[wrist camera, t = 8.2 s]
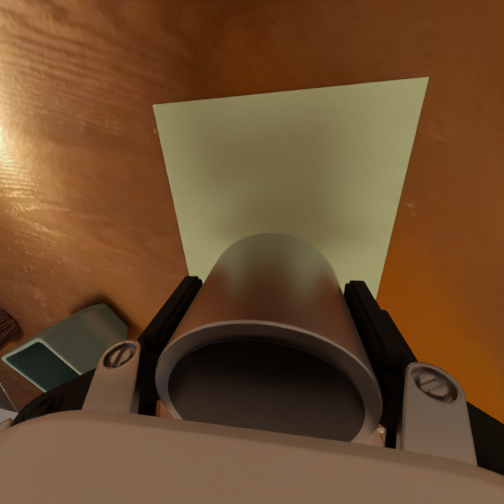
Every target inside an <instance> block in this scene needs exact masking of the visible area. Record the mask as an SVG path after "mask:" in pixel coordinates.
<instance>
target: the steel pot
mask: <svg viewBox="0 0 504 504" xmlns="http://www.w3.org/2000/svg"><path fill="white" fill-rule="evenodd" d="M155 385H156V389H157V392H158V395H159V397H160V399H161V401H162V403H163V404H164V406H165V407H166V409H167V410H168V411H169V413H170V414H171V415H172V416H173V417H174V418H175V419H179V420H187V421H195V422H203V423H210V424H218V425H225V426H233V427H241V428H248V429H256V430H263V431H271V432H278V433H286V434H293V435H300V436H307V437H315V438H322V439H329V440H336V441H343V442H351V443H358V444H362V443H364V442H365V441H366V440H367V439H368V438H369V437H370V436H371V435H372V434H373V433H374V431H375V430H376V429H377V427H378V425H379V423H380V421H381V417H382V413H383V397H382V393H381V389H380V386H379V384H378V381H377V379H376V376H375V374H374V371H373V369H372V366H371V363H370V361H369V358H368V356H367V353H366V351H365V348H364V346H363V343H362V341H361V338H360V335H359V333H358V330H357V328H356V325H355V323H354V320H353V318H352V315H351V313H350V310H349V308H348V305H347V302H346V300H345V297H344V295H343V292H342V290H341V287H340V285H339V282H338V280H337V277H336V274H335V272H334V270H333V268H332V266H331V264H330V263H329V261H328V260H327V258H326V257H325V256H324V255H323V254H322V253H321V252H320V251H319V250H318V249H317V248H315V247H314V246H312V245H311V244H309V243H308V242H306V241H304V240H301V239H299V238H297V237H293V236H290V235H285V234H280V233H263V234H256V235H252V236H249V237H246V238H243V239H241V240H239V241H237V242H235V243H234V244H232V245H231V246H229V247H228V248H227V249H226V250H225V251H224V252H223V253H222V254H221V255H220V257H219V258H218V260H217V261H216V263H215V265H214V267H213V268H212V270H211V272H210V273H209V275H208V277H207V278H206V280H205V282H204V283H203V285H202V287H201V288H200V290H199V292H198V293H197V295H196V297H195V298H194V300H193V302H192V303H191V305H190V307H189V308H188V310H187V312H186V313H185V315H184V317H183V318H182V320H181V322H180V323H179V325H178V327H177V328H176V330H175V332H174V333H173V335H172V337H171V338H170V340H169V342H168V343H167V345H166V347H165V348H164V350H163V352H162V353H161V355H160V357H159V358H158V362H157V365H156V369H155Z"/></svg>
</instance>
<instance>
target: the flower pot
mask: <svg viewBox="0 0 504 504" xmlns="http://www.w3.org/2000/svg"><path fill="white" fill-rule="evenodd" d="M127 330H128V327H127V325H126V324H125V323H124V322H123V321H122V320H121V319H120V318H119V317H118V316H117V315H116V314H115V313H114V312H113V311H112V310H111V309H110V308H109V307H108V306H107V305H106V304H104V303H102V304H96V305H92V306H89V307H86V308H84V309H82V310H80V311H78V312H76V313H74V314H72V315H70V316H69V317H67V318H65V319H63V320H62V321H60V322H58V323H56V324H54V325H52V326H50V327H48V328H47V329H45V330H43V331H42V332H40V333H39V334H37V335H35V336H34V337H32V338H31V339H29V340H27V341H26V342H24V343H23V344H21V345H19V346H18V347H16V348H15V349H13V350H12V351H10V352H9V353H7V354H6V355H4V356H3V357H2V360H3V361H4V362H6V363H7V364H8V365H9V366H11V367H12V368H13V369H15V370H16V371H17V372H19V373H20V374H21V375H23V376H24V377H25V378H27V379H28V380H29V381H31V382H32V383H33V384H35V385H36V386H37V387H39V388H40V389H41V390H43V391H44V392H47V391H49V390H51V389H53V388H55V387H57V386H59V385H61V384H63V383H65V382H68V381H70V380H72V379H74V378H76V377H78V376H80V375H82V374H84V373H86V372H88V371H90V370H92V369H94V368H96V367H97V365H98V362H99V360H100V358H101V356H102V355H103V353H104V352H105V351H106V350H107V349H109V348H110V347H111V346H113V345H115V344H116V343H119V342H121V341H124V340H126V339H127Z"/></svg>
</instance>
